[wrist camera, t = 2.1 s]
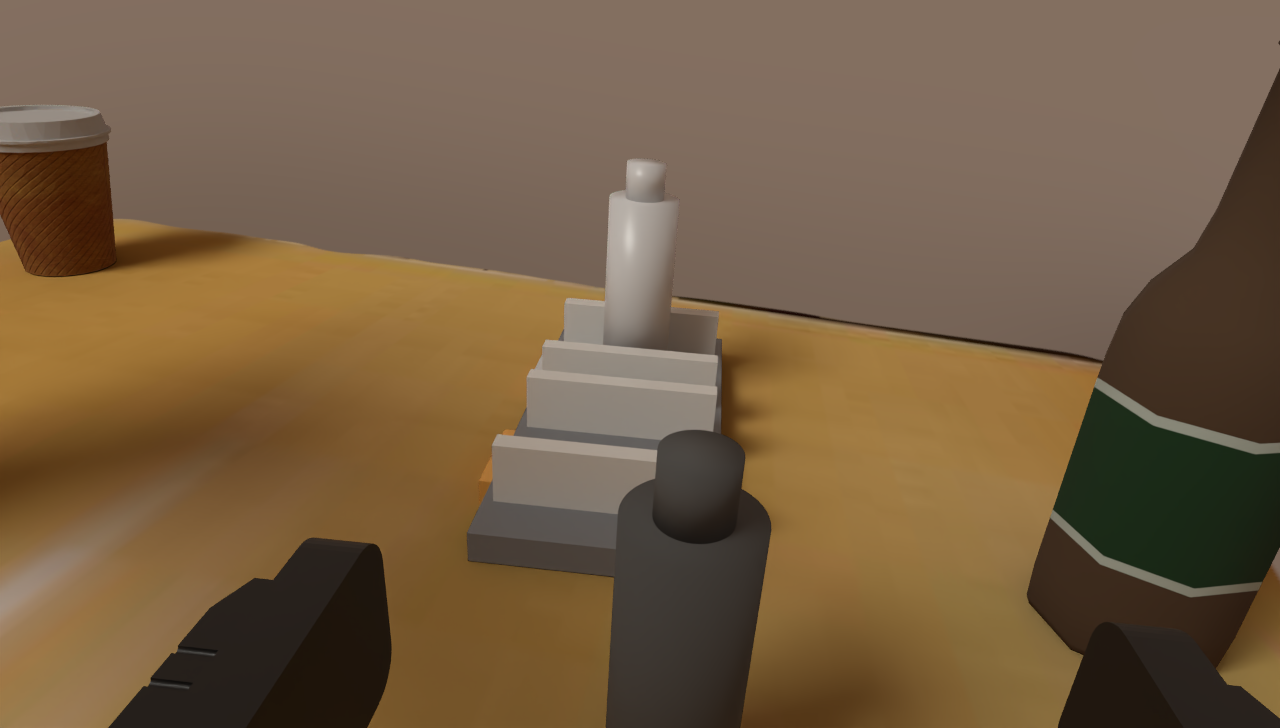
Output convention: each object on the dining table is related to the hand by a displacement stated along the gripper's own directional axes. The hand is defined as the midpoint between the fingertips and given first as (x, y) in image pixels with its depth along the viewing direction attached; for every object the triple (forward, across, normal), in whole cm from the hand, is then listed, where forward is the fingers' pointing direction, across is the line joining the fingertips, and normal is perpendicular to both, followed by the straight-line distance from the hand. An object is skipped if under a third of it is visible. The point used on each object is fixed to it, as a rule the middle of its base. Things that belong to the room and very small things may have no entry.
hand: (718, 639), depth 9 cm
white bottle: (+38, +4, +15) cm, 41 cm away
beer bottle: (+22, -18, +17) cm, 33 cm away
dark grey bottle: (+10, 0, +17) cm, 20 cm away
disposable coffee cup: (+52, +52, +16) cm, 75 cm away
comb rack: (+33, +4, +16) cm, 37 cm away
